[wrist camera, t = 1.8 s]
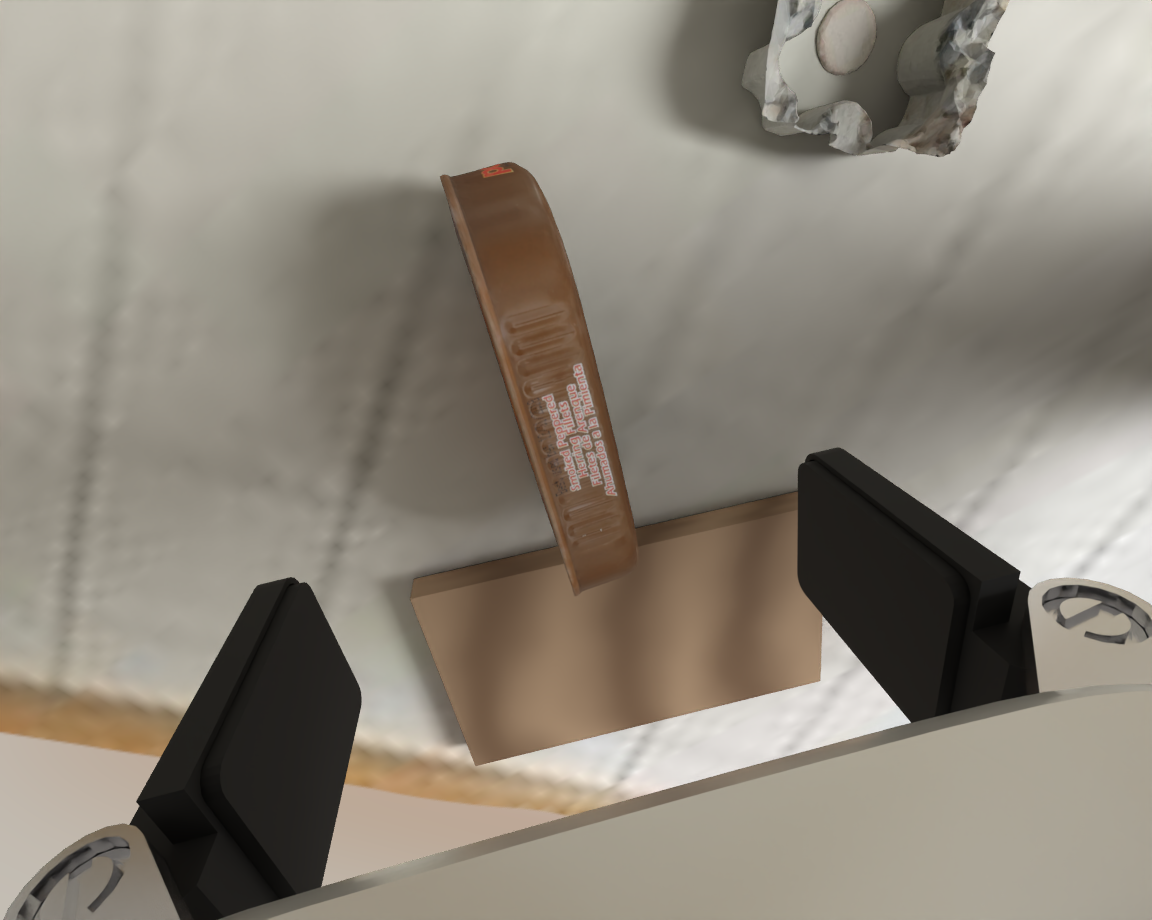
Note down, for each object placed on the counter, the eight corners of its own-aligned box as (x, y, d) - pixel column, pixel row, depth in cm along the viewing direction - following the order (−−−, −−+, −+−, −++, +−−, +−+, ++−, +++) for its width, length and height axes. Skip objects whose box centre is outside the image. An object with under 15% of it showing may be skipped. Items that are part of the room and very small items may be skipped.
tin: (440, 181, 20) (411, 174, 13) (524, 158, 20) (546, 137, 13) (549, 521, 27) (572, 650, 19) (612, 503, 27) (660, 624, 19)
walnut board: (809, 488, 28) (825, 503, 27) (806, 661, 33) (820, 680, 32) (413, 579, 27) (410, 599, 26) (476, 742, 32) (475, 766, 31)
